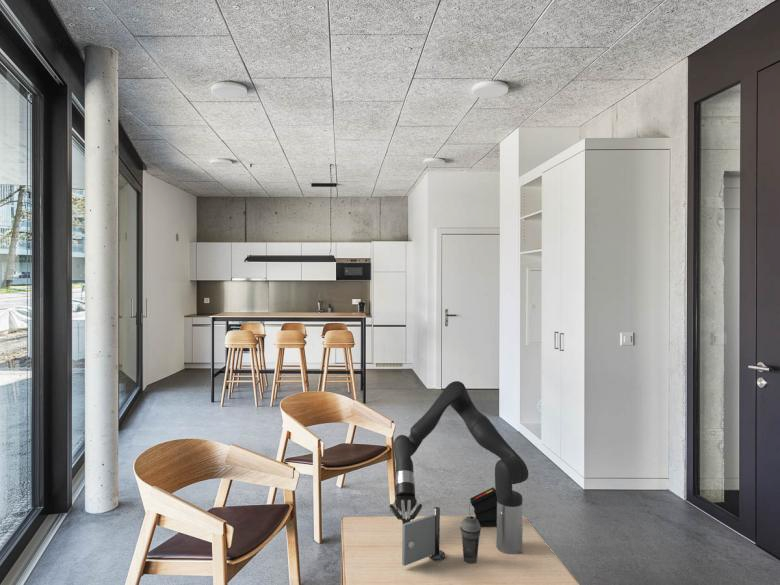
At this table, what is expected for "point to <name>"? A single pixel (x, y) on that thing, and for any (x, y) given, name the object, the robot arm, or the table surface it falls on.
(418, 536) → the door
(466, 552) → the beverage cup
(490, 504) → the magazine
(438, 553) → the hinge post
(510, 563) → the table surface
